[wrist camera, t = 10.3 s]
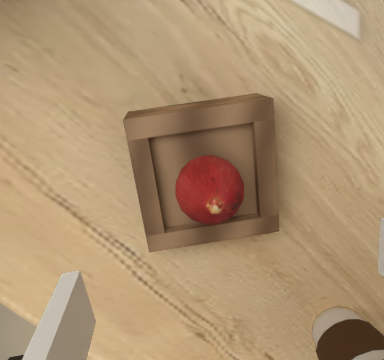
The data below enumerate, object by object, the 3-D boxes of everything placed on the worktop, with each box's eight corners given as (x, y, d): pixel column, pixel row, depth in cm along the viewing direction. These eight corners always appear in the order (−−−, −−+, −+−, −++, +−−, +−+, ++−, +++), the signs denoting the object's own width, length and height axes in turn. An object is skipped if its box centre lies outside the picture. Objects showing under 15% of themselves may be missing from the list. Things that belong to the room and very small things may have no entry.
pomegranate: (244, 159, 32) (270, 189, 24) (219, 211, 34) (236, 254, 26) (187, 137, 31) (197, 161, 23) (164, 192, 32) (166, 231, 25)
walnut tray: (256, 93, 34) (273, 98, 29) (264, 209, 38) (279, 231, 34) (128, 111, 33) (123, 119, 29) (150, 227, 38) (149, 252, 33)
